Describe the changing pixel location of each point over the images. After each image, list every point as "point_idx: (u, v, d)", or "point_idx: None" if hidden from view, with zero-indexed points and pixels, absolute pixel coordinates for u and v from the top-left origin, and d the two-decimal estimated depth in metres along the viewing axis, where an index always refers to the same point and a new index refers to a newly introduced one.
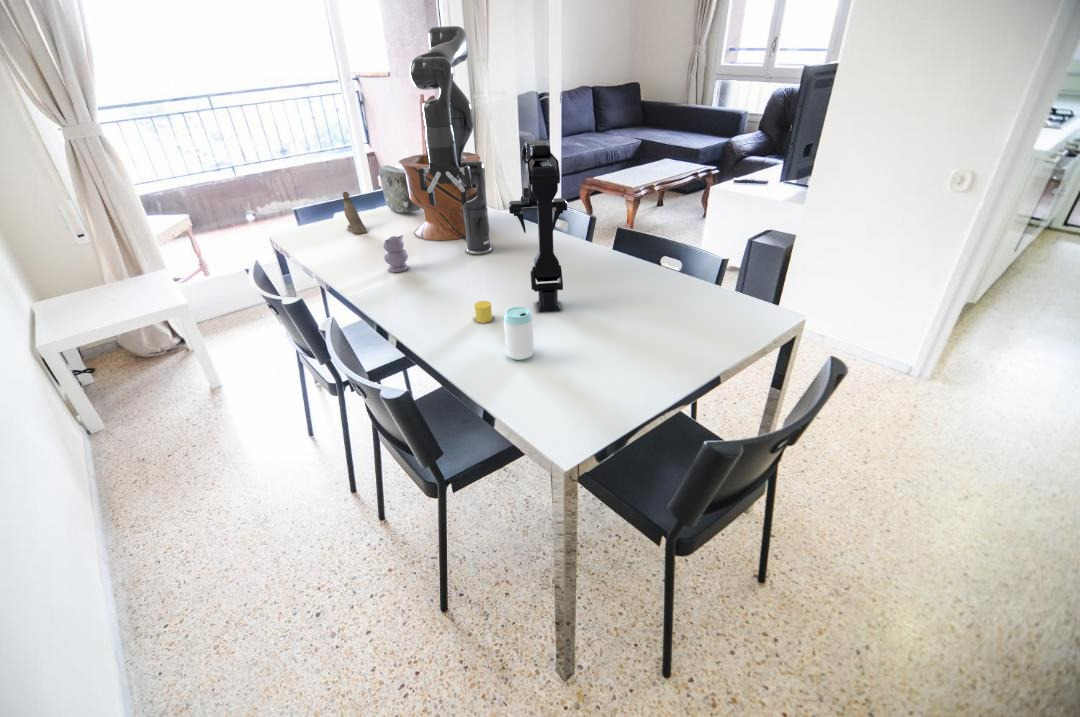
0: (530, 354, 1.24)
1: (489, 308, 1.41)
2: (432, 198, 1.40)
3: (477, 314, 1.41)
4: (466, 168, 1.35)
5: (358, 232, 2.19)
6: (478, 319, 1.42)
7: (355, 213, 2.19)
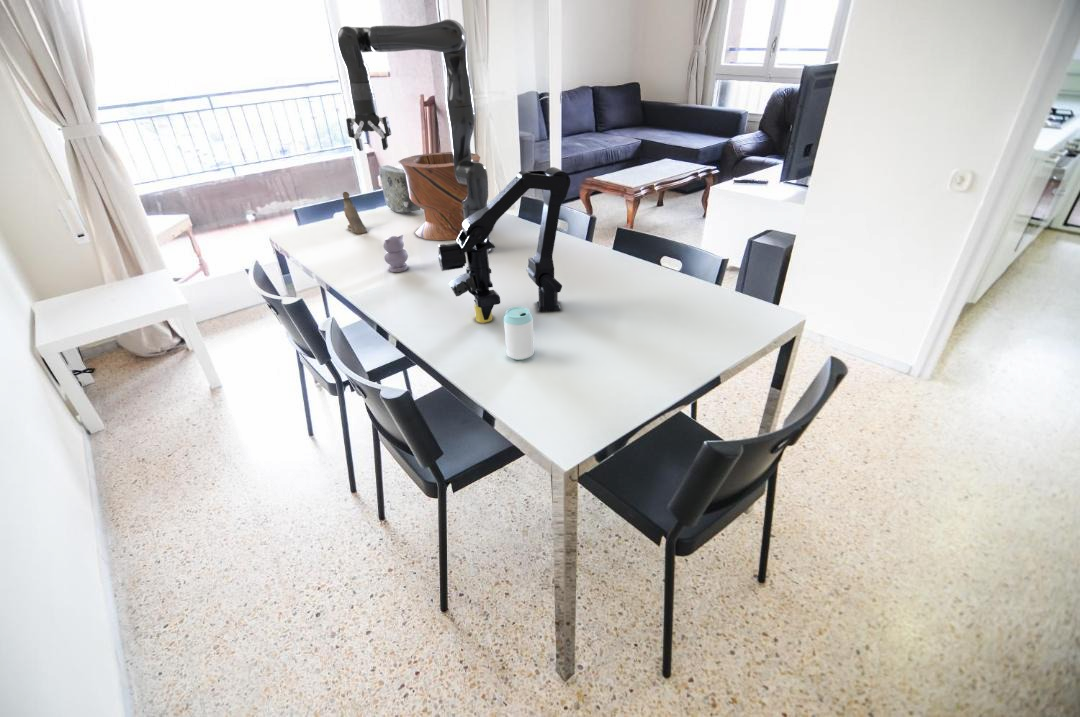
0: (530, 354, 1.24)
1: None
2: (358, 143, 1.73)
3: (477, 314, 1.41)
4: (384, 118, 1.68)
5: (358, 232, 2.19)
6: (478, 319, 1.42)
7: (355, 213, 2.19)
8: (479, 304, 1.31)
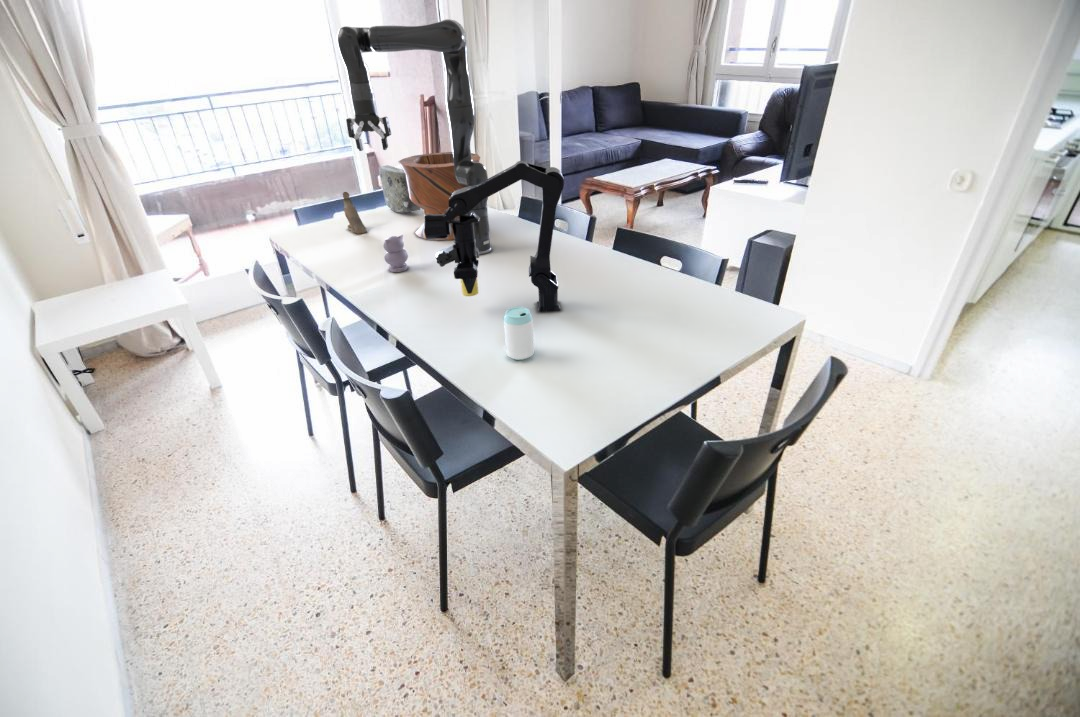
0: (530, 354, 1.24)
1: None
2: (359, 144, 1.73)
3: (462, 287, 1.44)
4: (384, 118, 1.68)
5: (358, 232, 2.19)
6: (463, 292, 1.45)
7: (355, 213, 2.19)
8: (455, 276, 1.34)
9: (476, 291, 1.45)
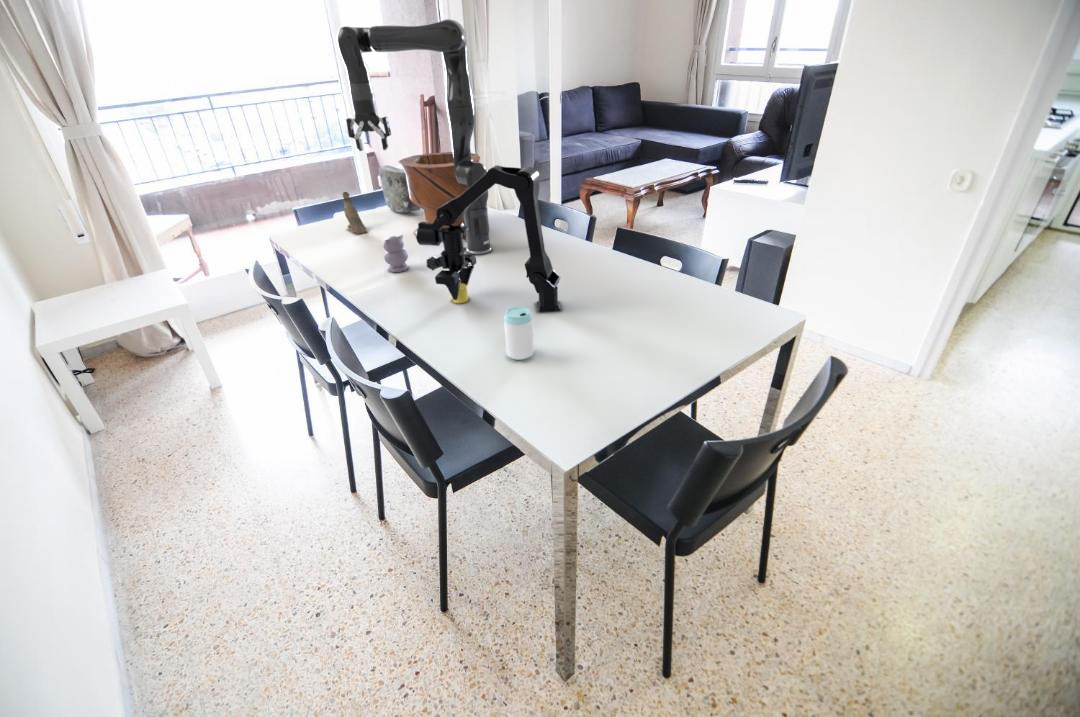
0: (530, 354, 1.24)
1: (461, 291, 1.52)
2: (359, 144, 1.73)
3: None
4: (384, 118, 1.68)
5: (358, 232, 2.19)
6: None
7: (355, 213, 2.19)
8: (436, 281, 1.44)
9: (464, 299, 1.54)
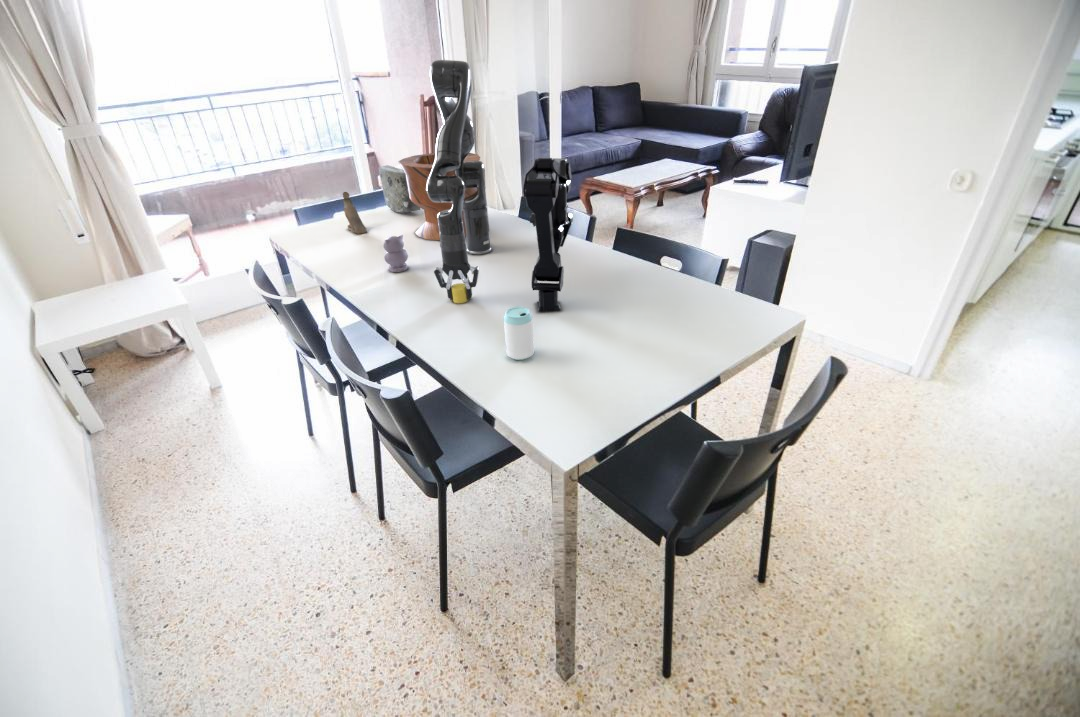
0: (530, 354, 1.24)
1: (461, 291, 1.52)
2: (450, 293, 1.54)
3: (452, 294, 1.54)
4: (476, 270, 1.49)
5: (358, 232, 2.19)
6: None
7: (355, 213, 2.19)
8: None
9: (464, 299, 1.54)
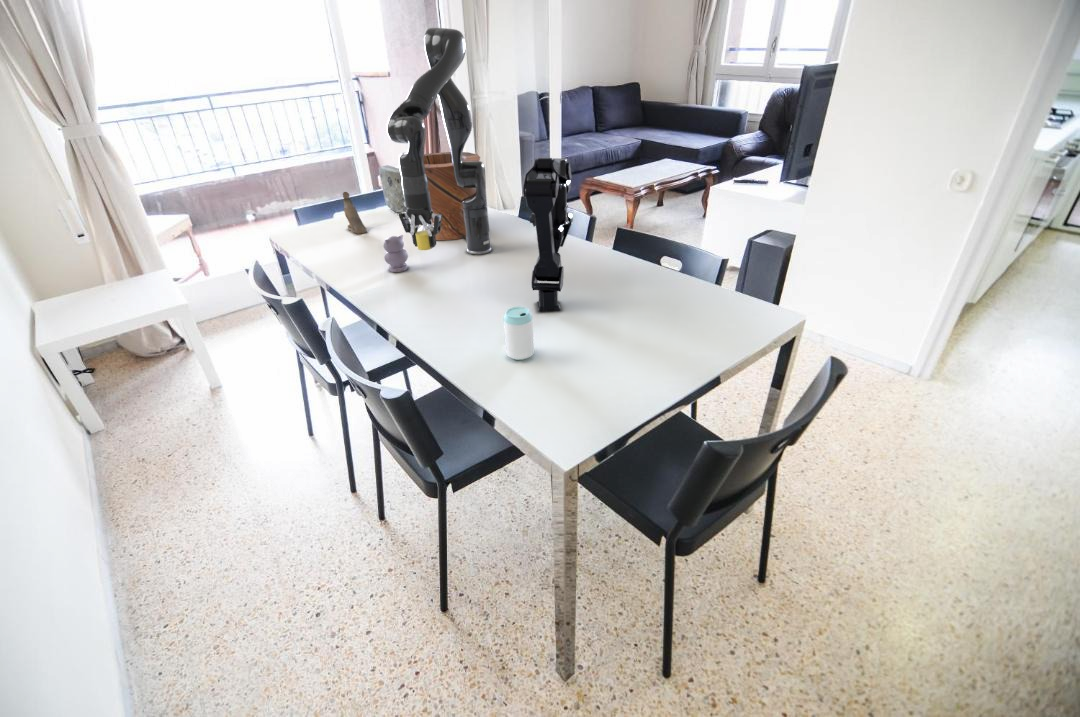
0: (530, 354, 1.24)
1: (423, 237, 1.51)
2: (415, 239, 1.54)
3: None
4: (436, 217, 1.47)
5: (358, 232, 2.19)
6: None
7: (355, 213, 2.19)
8: None
9: (426, 246, 1.53)
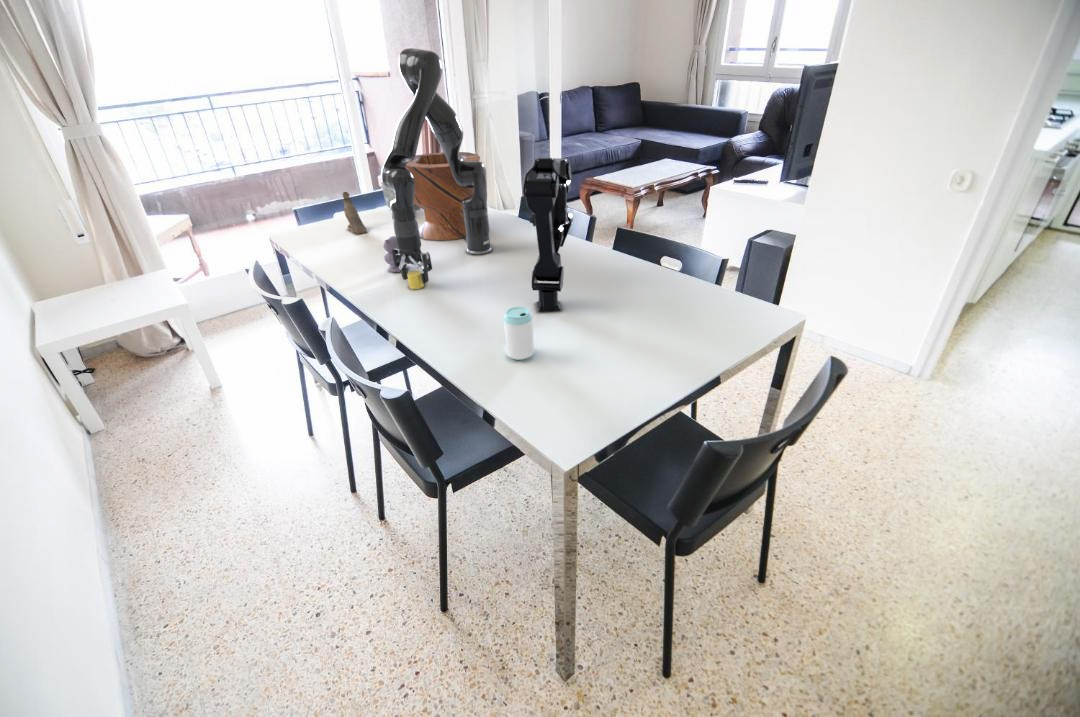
0: (530, 354, 1.24)
1: (413, 278, 1.63)
2: (402, 273, 1.65)
3: None
4: (423, 255, 1.57)
5: (358, 232, 2.19)
6: None
7: (355, 213, 2.19)
8: None
9: (416, 286, 1.64)
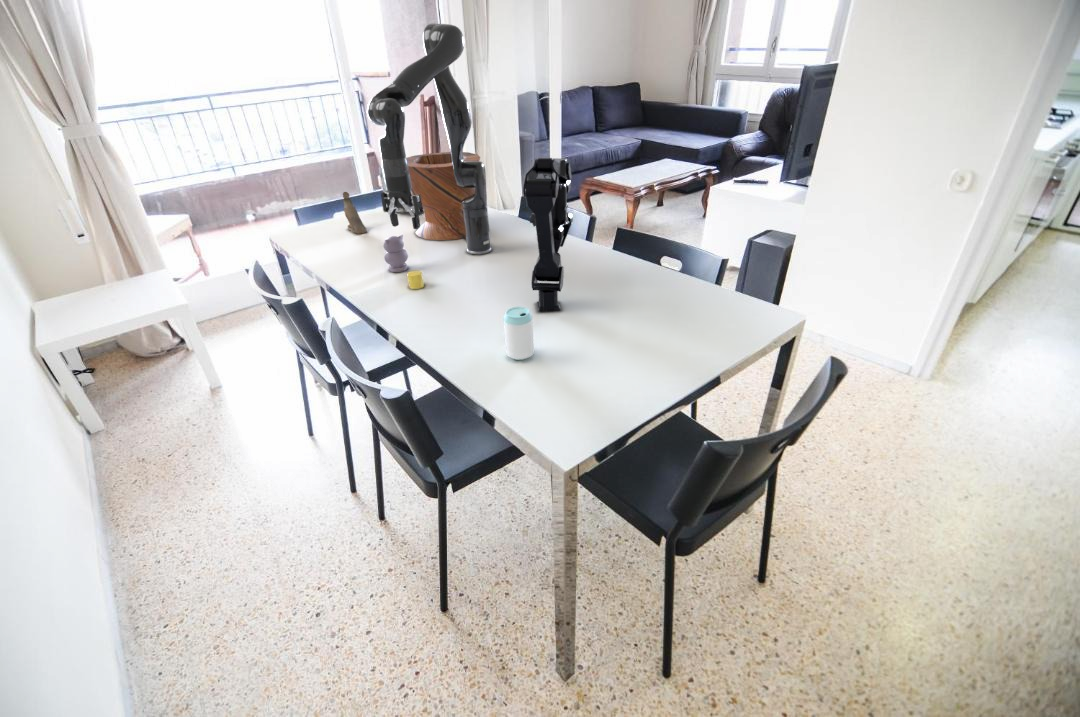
0: (530, 354, 1.24)
1: (413, 278, 1.63)
2: (392, 219, 1.56)
3: None
4: (414, 197, 1.47)
5: (358, 232, 2.19)
6: None
7: (355, 213, 2.19)
8: None
9: (416, 286, 1.64)
